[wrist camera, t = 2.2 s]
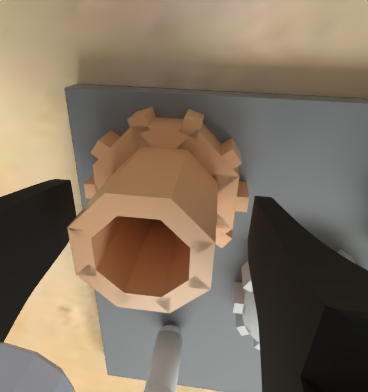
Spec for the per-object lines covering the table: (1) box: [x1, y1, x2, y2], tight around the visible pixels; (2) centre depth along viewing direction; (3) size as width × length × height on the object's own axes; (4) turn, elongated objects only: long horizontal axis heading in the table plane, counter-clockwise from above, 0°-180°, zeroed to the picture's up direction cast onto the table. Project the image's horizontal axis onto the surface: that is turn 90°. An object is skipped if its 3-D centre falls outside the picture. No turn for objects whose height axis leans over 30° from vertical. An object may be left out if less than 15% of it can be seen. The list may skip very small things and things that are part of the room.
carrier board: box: [65, 84, 368, 392], centre depth 14 cm, size 21×20×7 cm
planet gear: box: [67, 107, 249, 313], centre depth 12 cm, size 7×7×6 cm
